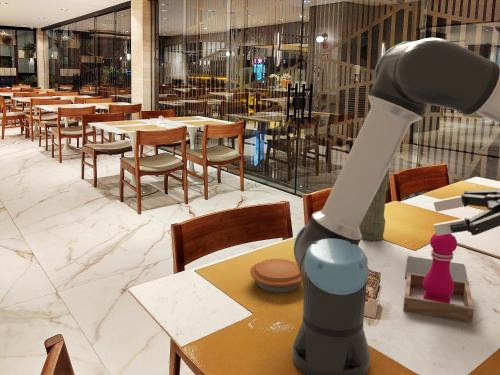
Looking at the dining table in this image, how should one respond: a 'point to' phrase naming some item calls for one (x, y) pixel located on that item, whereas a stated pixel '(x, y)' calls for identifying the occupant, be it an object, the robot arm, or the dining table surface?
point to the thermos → (375, 214)
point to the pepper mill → (440, 269)
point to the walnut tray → (438, 307)
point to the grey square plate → (424, 266)
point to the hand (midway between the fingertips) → (434, 217)
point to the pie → (277, 275)
